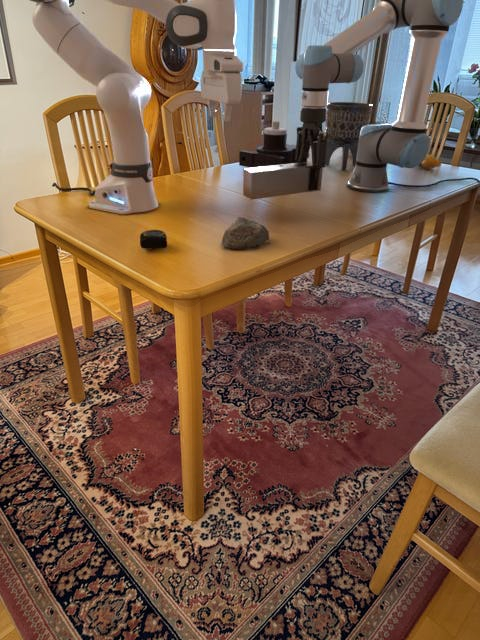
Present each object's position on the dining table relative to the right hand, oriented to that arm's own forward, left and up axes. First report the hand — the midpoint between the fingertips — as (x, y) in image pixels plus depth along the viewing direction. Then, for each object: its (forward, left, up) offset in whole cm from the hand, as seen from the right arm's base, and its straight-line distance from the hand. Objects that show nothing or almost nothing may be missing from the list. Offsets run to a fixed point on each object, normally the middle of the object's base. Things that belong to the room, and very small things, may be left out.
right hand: (307, 187), depth 143 cm
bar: (+8, +5, -1) cm, 9 cm away
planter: (-21, -74, -8) cm, 78 cm away
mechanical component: (+8, -56, -8) cm, 57 cm away
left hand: (+27, +7, +20) cm, 34 cm away
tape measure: (+41, +37, -8) cm, 56 cm away
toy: (-60, -80, -8) cm, 100 cm away
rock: (+17, +31, -8) cm, 37 cm away
